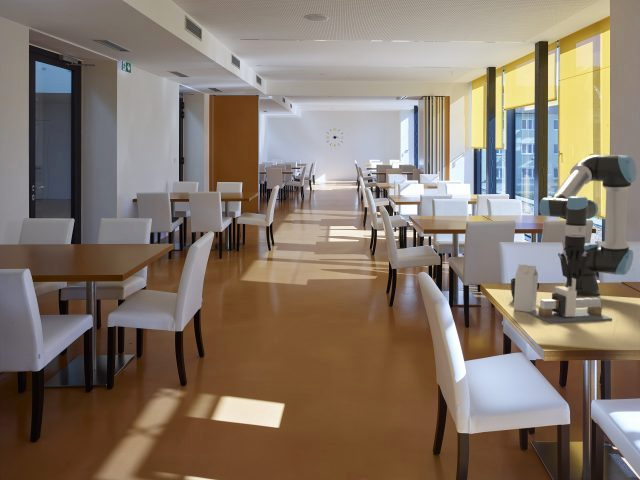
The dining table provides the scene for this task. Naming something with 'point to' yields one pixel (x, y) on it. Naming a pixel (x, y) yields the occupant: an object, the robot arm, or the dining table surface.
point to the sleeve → (568, 299)
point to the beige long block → (591, 303)
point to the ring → (562, 303)
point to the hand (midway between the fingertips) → (571, 294)
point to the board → (572, 317)
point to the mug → (514, 287)
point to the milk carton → (525, 288)
